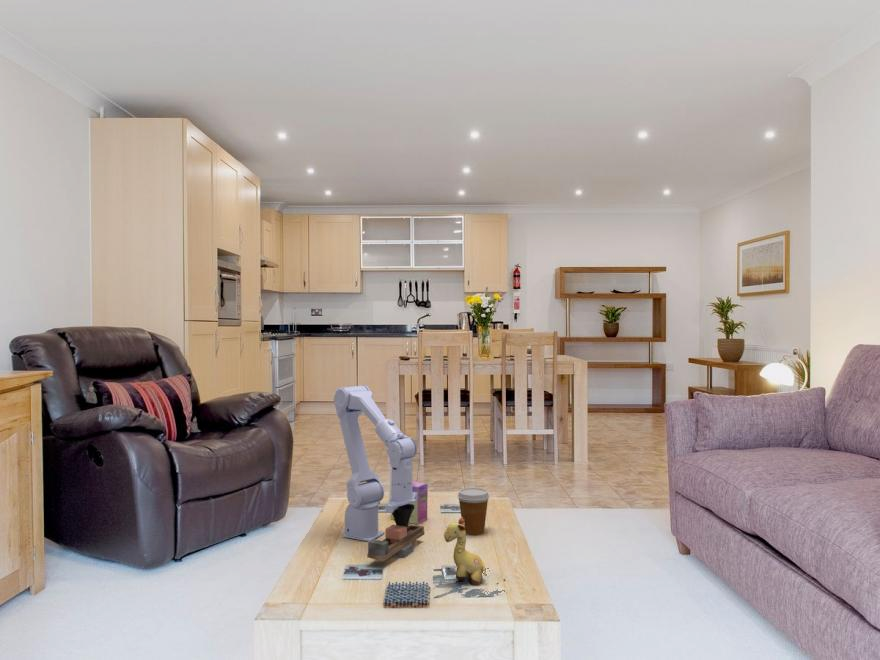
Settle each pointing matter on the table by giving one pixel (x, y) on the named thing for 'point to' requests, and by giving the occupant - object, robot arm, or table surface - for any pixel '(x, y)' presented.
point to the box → (418, 503)
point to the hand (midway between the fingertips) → (402, 532)
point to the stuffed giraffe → (463, 565)
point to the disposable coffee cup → (473, 509)
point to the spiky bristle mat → (407, 595)
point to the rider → (395, 533)
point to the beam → (395, 545)
